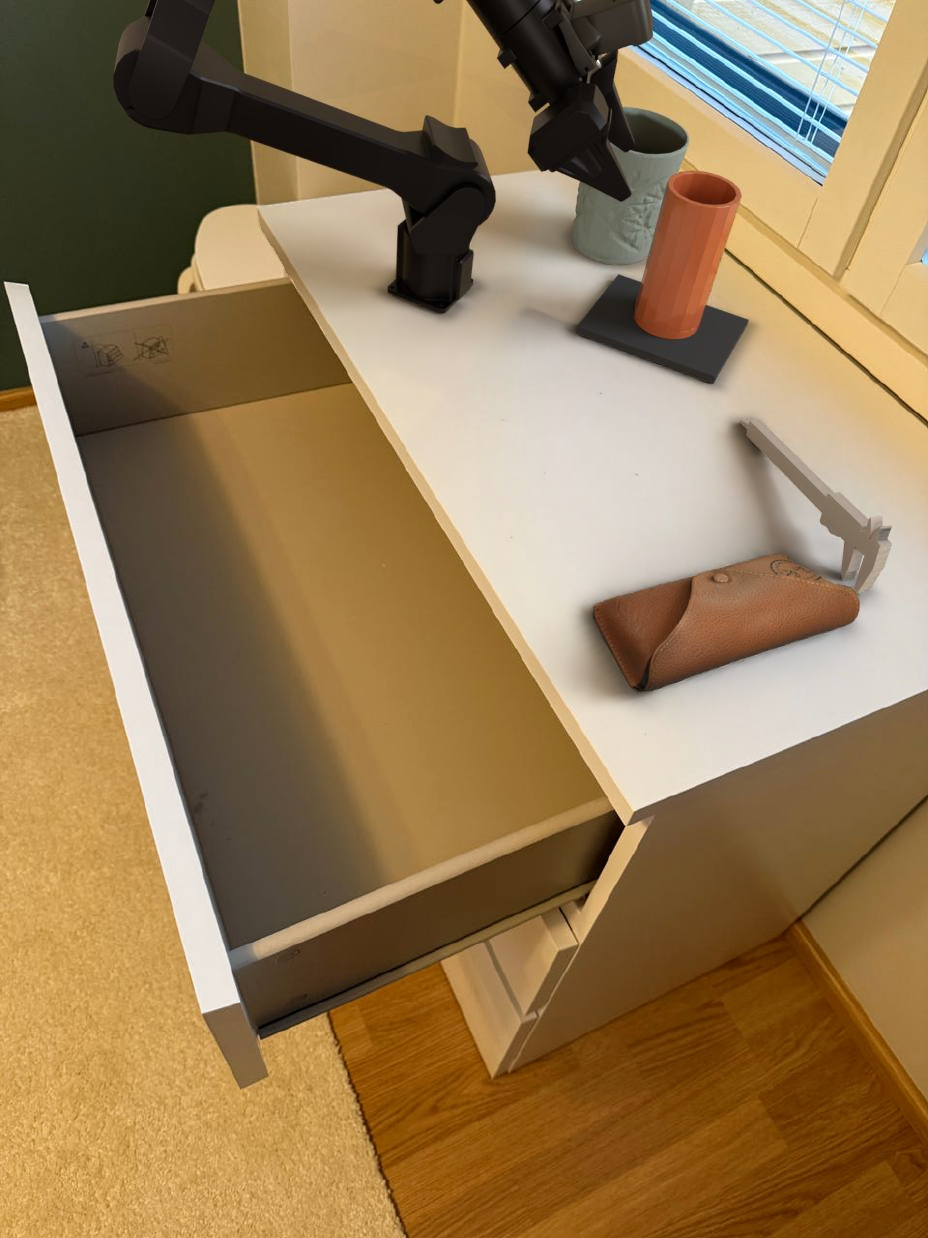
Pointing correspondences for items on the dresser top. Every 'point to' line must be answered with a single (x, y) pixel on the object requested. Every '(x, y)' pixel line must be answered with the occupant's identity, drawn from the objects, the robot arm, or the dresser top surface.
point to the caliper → (831, 511)
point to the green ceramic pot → (647, 167)
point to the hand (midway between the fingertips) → (628, 172)
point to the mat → (686, 355)
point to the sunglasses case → (719, 618)
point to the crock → (685, 253)
